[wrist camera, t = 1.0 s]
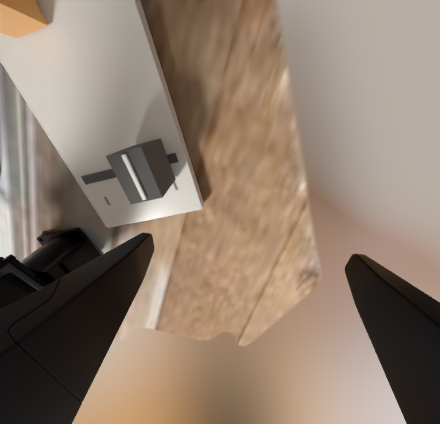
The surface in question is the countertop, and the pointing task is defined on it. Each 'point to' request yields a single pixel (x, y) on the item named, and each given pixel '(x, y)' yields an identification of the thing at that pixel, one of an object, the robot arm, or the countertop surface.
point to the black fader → (143, 171)
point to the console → (102, 100)
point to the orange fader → (20, 17)
